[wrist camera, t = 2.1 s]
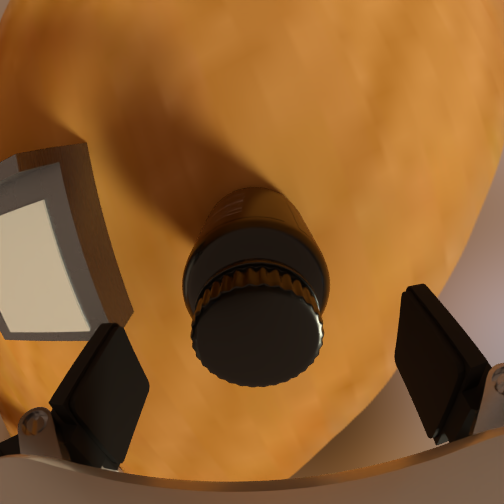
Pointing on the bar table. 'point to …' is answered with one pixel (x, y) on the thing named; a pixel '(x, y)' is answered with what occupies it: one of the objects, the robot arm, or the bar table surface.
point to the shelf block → (55, 249)
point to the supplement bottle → (256, 290)
